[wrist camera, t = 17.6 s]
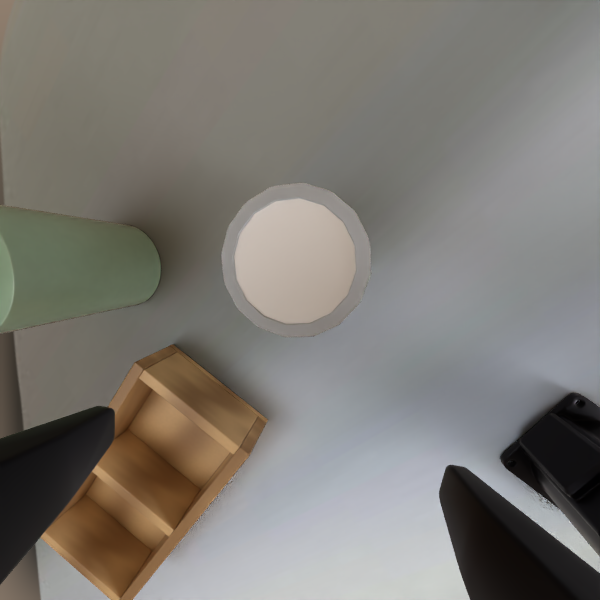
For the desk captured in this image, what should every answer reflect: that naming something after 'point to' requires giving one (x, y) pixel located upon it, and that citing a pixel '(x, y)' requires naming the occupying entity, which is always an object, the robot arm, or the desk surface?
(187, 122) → the desk surface
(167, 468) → the crate
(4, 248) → the bottle
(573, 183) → the desk surface
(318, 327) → the shot glass
